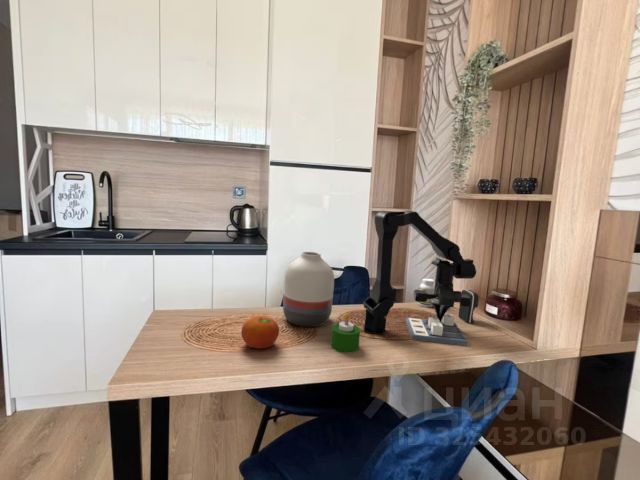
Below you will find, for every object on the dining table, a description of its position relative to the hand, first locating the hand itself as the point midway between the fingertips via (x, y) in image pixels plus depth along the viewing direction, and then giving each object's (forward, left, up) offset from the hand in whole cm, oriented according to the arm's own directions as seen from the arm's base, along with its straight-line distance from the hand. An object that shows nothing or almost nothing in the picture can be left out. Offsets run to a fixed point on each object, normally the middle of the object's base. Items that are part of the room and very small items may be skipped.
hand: (438, 321), depth 124 cm
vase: (-46, -7, -3) cm, 46 cm away
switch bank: (-2, -5, -2) cm, 6 cm away
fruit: (-56, -30, -3) cm, 63 cm away
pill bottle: (0, +25, -3) cm, 26 cm away
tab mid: (-3, -5, 0) cm, 6 cm away
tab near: (-3, -10, 0) cm, 10 cm away
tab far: (+3, 0, 0) cm, 3 cm away
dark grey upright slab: (+13, +11, -3) cm, 18 cm away
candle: (-32, -24, -3) cm, 40 cm away
